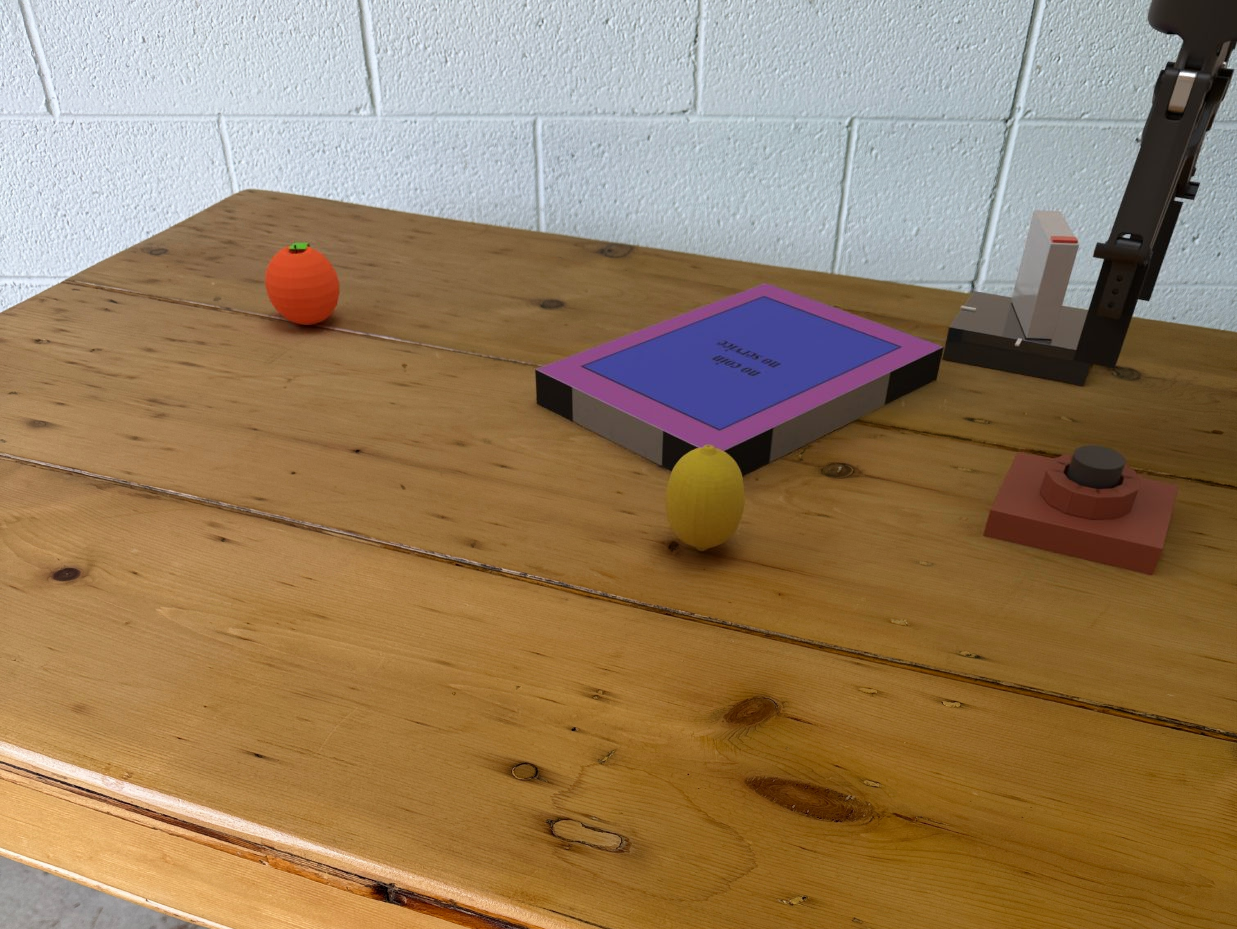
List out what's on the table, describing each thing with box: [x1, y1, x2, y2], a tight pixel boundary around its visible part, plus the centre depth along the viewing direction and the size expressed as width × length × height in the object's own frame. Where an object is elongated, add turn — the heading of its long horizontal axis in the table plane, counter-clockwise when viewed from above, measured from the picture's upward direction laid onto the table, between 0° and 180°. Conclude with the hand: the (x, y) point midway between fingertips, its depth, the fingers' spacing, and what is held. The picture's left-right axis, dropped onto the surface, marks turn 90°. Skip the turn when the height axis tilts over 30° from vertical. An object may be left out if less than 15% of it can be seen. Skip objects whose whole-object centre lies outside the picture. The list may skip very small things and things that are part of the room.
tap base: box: [941, 290, 1093, 387], centre depth 104 cm, size 13×13×3 cm
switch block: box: [982, 451, 1180, 576], centre depth 82 cm, size 12×10×4 cm
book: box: [534, 282, 945, 477], centre depth 98 cm, size 21×3×30 cm
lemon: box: [664, 445, 746, 552], centre depth 78 cm, size 6×6×8 cm
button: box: [1067, 445, 1127, 489], centre depth 80 cm, size 4×4×2 cm
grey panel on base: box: [1011, 209, 1080, 339], centre depth 100 cm, size 9×2×8 cm, turn 174°
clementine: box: [264, 242, 341, 326], centre depth 107 cm, size 8×7×7 cm
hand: (1113, 328), depth 78 cm, fingers open, 13 cm apart
